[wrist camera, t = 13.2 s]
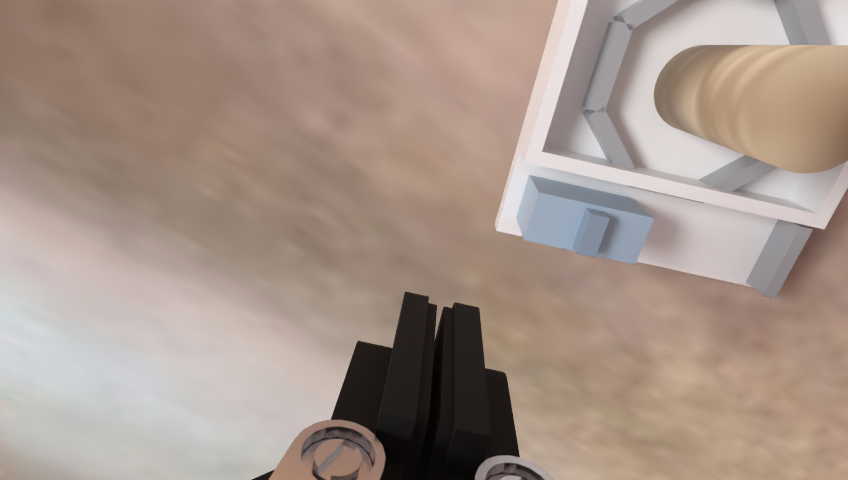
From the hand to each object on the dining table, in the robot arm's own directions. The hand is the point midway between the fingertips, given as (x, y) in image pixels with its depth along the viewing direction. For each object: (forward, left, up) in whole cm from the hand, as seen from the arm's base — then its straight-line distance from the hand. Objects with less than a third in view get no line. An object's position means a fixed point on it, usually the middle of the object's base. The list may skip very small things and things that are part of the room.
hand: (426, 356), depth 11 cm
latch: (0, +6, -14) cm, 15 cm away
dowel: (-7, +10, -14) cm, 18 cm away
